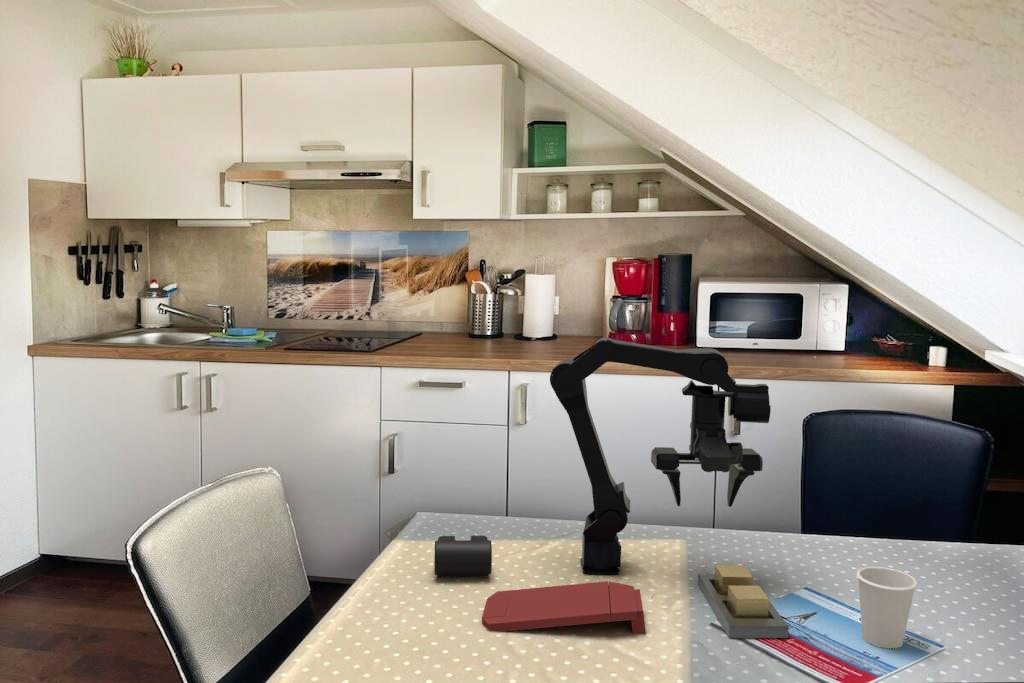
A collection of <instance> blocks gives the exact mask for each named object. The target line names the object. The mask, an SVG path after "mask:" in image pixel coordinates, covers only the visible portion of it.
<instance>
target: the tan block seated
mask: <svg viewBox="0 0 1024 683" xmlns="http://www.w3.org/2000/svg"><path fill="white" fill-rule="evenodd" d="M714 574H715V575H714V589H715V590H716V592H717V593H718V595H728V585H733V586H752V584H753V580H754V579H753V578H754V577H753V575H752V574H751V573H750V571H749V570H748V569H747V568H746V566H745V565H742V564H741V565H739V564H738V565H737V564H735V565H732V564H730V565H729V564H723V565H721V564H720V565H719V564H714Z"/></svg>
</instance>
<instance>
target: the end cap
mask: <svg viewBox="0 0 1024 683" xmlns="http://www.w3.org/2000/svg"><path fill="white" fill-rule="evenodd" d="M492 547H493V546H492V540H490V539H488V537H487V536H486V535H483V534H481V535H475V534H473V535H470V539H467V540H466V539H464V540H461V539H459V540H458V539H457V540H456V535H440V536H438V538H437V540H435V541H434V556H433V557H434V561H433V562H434V564H433V565H434V566H433V568H434V571H433V572H434V576H437V578H489V575H491V574H492V568H493V567H492V565H493V564H492V563H493V562H492V561H493V560H492V559H493V550H492Z"/></svg>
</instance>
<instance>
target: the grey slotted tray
mask: <svg viewBox="0 0 1024 683" xmlns="http://www.w3.org/2000/svg"><path fill="white" fill-rule="evenodd" d="M714 575H715V573H697V586H698V588H699V587H700V588H699V590H700V591H701V592H702V594H704V595H703V596H704V598H705V599H706V601H707V603H708V605H709V607H710V606H711V607H710V608H711V610H712V611H713V613H714V615H715V616H716V619H717V620H718V622H719V624H720V626H721V627H722V629H723V630H724V632H725V634H726V635H727V638H728V639H756V638H757V640H759V639H760V638H764V639H765V638H789V625H788V623H787V622H786V621H785V620H784V618H783V617H782V616H781V614H780V612H778V611H777V609H776V608H775V607H774V605H773V604H772V602H771V601H770V600H769V608H768V619H743V618H733V617H732V616H731V614H730V613H729V611H728V609H727V599H728V595H718V593H717V592H716V590H715V589H714ZM752 586H759V585H758V584H757V583H756V581H755V579H753V584H752ZM758 638H759V639H758Z"/></svg>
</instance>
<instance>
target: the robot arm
mask: <svg viewBox="0 0 1024 683" xmlns="http://www.w3.org/2000/svg"><path fill="white" fill-rule="evenodd" d="M609 362H612V363H618V364H624V365H630V366H637V367H642V368H648V369H655V370H661V371H666V372H673V373H675V374H678V375H680V376H683V377H685V378H688V379H690V380H689V382H688V383H687V385H685V386H684V387H682V389H681V393H682V395H683V396H691V397H692V398H691V399H692V400H691V418H690V419H691V422H690V424H689V428H690V440H689V442H690V443H689V445H688V446H689V447H688V448H689V449H688V451H689V452H678V451H677V450H676V449H675V447H658V446H657V447H654V448H653V449H652V450H651V454H650V455H651V456H650V462H651V464H652V466H653V467H654V468H655V469H656V470H659V471H660V472H662V474H663V475H666V476H667V479H668V481H669V484H670V487H671V490H672V493H673V498H674V500H675V503H676V507H680V506H681V500H682V498H681V482H680V478H681V471H680V470H679V467H680V465H700V468H701V469H702V471H703V472H706V473H713V472H722V473H728V482H727V484H728V485H727V494H726V495H727V498H726V499H727V500H726V501H727V507H729V508H731V507H732V506H733V504H734V502H735V499H736V498H737V497H736V496H738V495H737V494H738V493H739V490H740V488H741V487H742V484H743V483H744V481H745V479H747V478H749V476H754V475H755V472H762V471H763V461H764V460H763V457H762V456H761V455H760V453H759V452H757V451H756V450H754V449H753V448H743V447H744V446H743V444H742V442H732V441H731V442H728V441H727V437H726V429H725V416H726V414H725V413H726V398H728V399H727V400H728V401H727V413H728V416H729V417H733V420H734V423H753V424H754V423H758V424H768V423H769V422H770V418H771V410H772V409H771V405H770V394H769V391H770V390H769V389H770V388H769V386H768V385H767V384H766V383H758V384H757V383H756V384H743V383H737V381H736V379H735V378H734V377H732V376H730V374H729V364H728V361H727V359H726V358H725V357H724V356H723V354H722V353H721V352H720V351H719V350H717V349H714V348H707V347H705V348H697V347H695V348H683V349H681V348H679V349H675V348H669V347H668V348H667V347H663V346H662V347H661V346H655V345H649V344H642V343H636V342H629V341H623V340H617V339H614V338H611V337H608V336H607V337H604V336H603V337H601V338H600V339H598V340H597V341H596V342H595V343H594V344H593V345H591V346H590V347H588V348H587V349H585V350H584V351H582V352H580V353H579V354H578V355H576V356H575V357H573V358H566V359H562V360H560V361H559V362H557V363H556V365H555V366H554V367H553V368H552V371H551V372H550V376H549V383H550V387H551V388H552V390H553V391H554V393H555V396H556V397H557V400H558V401H559V403H560V404H561V406H562V407H563V409H564V410H565V411H566V413H567V415H568V418H569V420H570V424H571V427H572V431H573V434H574V436H575V439H576V442H577V445H578V449H579V451H580V455H581V458H582V461H583V463H584V467H585V469H586V472H587V475H588V479H589V481H590V484H591V492H592V503H593V510H592V511H591V512H590V513H588V515H587V516H586V517H585V521H584V527H583V532H582V540H581V541H582V544H581V545H582V546H581V558H580V559H579V560H580V566H581V567H582V568H581V569H582V573H583V574H586V575H619V574H620V570H619V568H621V565H622V564H621V563H622V544H621V542H620V541H619V536H618V533H620V532H622V531H623V530H624V529H625V528H626V526H627V525H628V520H629V517H628V516H629V514H630V513H631V499H629V497H628V496H627V493H626V487H625V482H624V481H622V482H620V483H617V482H616V481H615V479H614V478H613V477H612V476H613V475H612V474H611V471H610V469H609V465H608V462H607V460H606V456H605V453H604V450H603V447H602V444H601V440H600V438H599V434H598V432H597V428H596V426H595V422H594V420H593V417H592V416H593V415H592V413H591V410H590V407H589V402H588V401H589V400H588V391H587V389H588V388H587V382H586V378H588V377H590V375H592V374H594V373H595V372H596V371H597V370H598V369H600V367H602V366H603V365H605V364H606V363H609ZM694 381H696V382H699V383H701V384H704V385H701V384H696V383H695V382H694ZM713 386H717V387H719V389H721V390H715V389H714V387H713Z"/></svg>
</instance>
